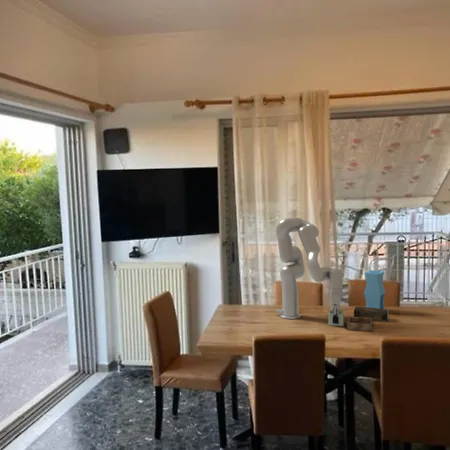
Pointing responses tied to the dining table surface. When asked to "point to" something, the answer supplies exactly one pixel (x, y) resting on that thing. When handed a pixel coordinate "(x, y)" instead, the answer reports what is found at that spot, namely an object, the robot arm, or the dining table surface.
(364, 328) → the walnut crate
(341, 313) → the small crate
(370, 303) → the vase
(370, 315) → the beverage carton
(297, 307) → the robot arm
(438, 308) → the dining table surface
